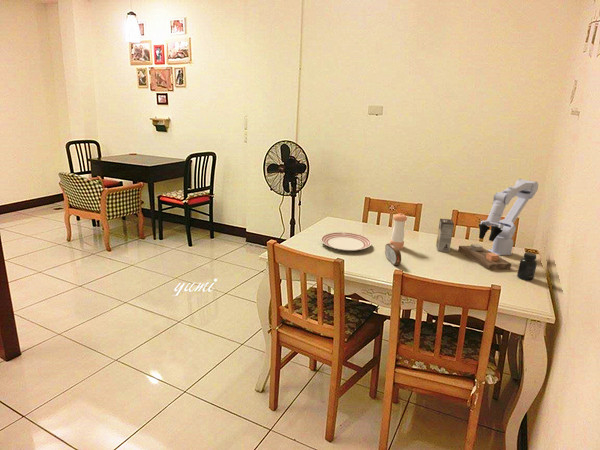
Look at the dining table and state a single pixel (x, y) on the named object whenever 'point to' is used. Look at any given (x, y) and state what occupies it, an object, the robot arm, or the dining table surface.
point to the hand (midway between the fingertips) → (485, 239)
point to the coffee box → (444, 235)
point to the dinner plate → (346, 241)
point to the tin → (393, 254)
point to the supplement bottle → (527, 267)
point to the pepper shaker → (398, 230)
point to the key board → (484, 259)
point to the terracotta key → (492, 256)
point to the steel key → (476, 247)
